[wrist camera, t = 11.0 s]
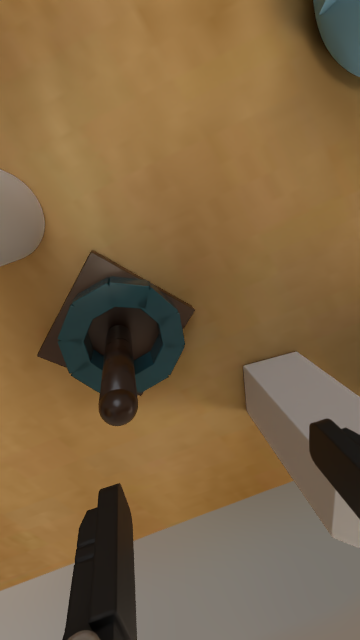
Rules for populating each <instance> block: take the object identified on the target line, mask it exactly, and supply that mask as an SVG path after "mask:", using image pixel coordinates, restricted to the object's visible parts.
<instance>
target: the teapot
mask: <svg viewBox="0 0 360 640" xmlns="http://www.w3.org/2000/svg"><path fill="white" fill-rule="evenodd" d="M313 4H314V10H315V17H316V21H317V25H318V29H319V32H320V35H321V38H322V40H323V42H324V44H325V46H326V48H327V49H328V51H329V52H330V54H331V55H332V57H333V58H334V59H335V60H336V61H337V62H338V63H339V64H340V65H341V66H342V67H343V68H345V69H346V70H347V71H349V72H350V73H352V74H354V75H356V76H358V77H360V0H313Z"/></svg>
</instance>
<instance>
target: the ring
mask: <svg viewBox="0 0 360 640" xmlns="http://www.w3.org/2000/svg"><path fill="white" fill-rule="evenodd" d="M114 307H124V308H137V309H141V310H142V311H144V312H145V313H146V314H147V315H149V316H150V317H151V318H152V319H153V320H155V321H156V323H157V327H158V332H159V334H158V336H157V338H156V340H155V342H154V344H153V347H152V349H151V351H149V352H148V353H146V354H144V355H142V356H141V357H139V358H137V359H136V360H134V370H135V380H136V389H137V394H138V392H139V394H140V393H142V392H143V391H145V390H147V389H149V388H150V387H152V386H154V385H156V384H157V383H159V382H161V381H162V380H164V379H166V378H168V377H169V376H168V375H170V374H171V372H172V370H173V369H174V367H175V365H176V363H177V361H178V359H179V357H180V355H181V353H182V351H183V349H184V345H185V341H184V335H183V330H182V324H181V318H180V313H179V312H178V310H177V308H176V307H175V305H174V304H173V302H172V301H171V300H169V299H168V298H167V297H166V296H165V295H164V294H163V293H162V292H160V291H159V290H158V289H157V288H156V287H155V286H154V285H153V284H151V283H150V282H149V281H146V280H144V279H134V278H124V277H115V276H111V277H110V278H109V277H107V278H105V279H103V280H101V281H100V282H98V283H96V284H94V285H92V286H91V287H89V288H87V289H85V290H84V291H82V292H80V293H78V294H77V296H75V298H74V300H73V301H72V303H71V305H70V307H69V309H68V312H67V314H66V317H65V320H64V322H63V325H62V327H61V330H60V333H59V335H58V338H57V339H58V341H57V342H58V345H59V348H60V350H61V353H62V355H63V358H64V361H65V363H66V366H67V369H68V371H69V373H70V374H71V373H72V374H71V376H73V377H74V378H76V379H77V380H79V381H81V382H82V383H84V384H86V385H87V386H89V387H90V388H92V389H94V390H95V391H97V392H99V393H100V389H101V380H102V371H103V363H104V356H103V355H102V354H100V353H99V352H97V351H96V350H94V349H93V346H92V343H91V339H90V336H89V333H88V330H89V327H90V325H91V323H92V320H93V319H95V318H96V317H98V316H100V315H102V314H103V313H105V312H107V311H109V310H110V309H112V308H114Z"/></svg>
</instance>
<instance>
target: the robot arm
mask: <svg viewBox="0 0 360 640" xmlns="http://www.w3.org/2000/svg"><path fill="white" fill-rule="evenodd" d="M309 452H310V455H311V458H312V460H313V462H314V463H315V465H316V466H317V467H318V469H319V470H320V471H321V472H322V474H323V475H324V476H325V477H326V479H327V480H328V481H329V482H330V483H331V485H332V486H333V487H334V488H335V490H336V491H337V492H338V493H339V495H340V496H341V497H342V498H343V499H344V501H345V502H346V503H347V504H348V506H349V507H350V508H351V509H352V511H353V512H354V513H355V514H356V516H357V517H358V518H359V519H360V435H359V434H358V433H356V432H354V431H352V430H350V429H348V428H346V427H345V428H342V429H341V428H340V427H339V426H338V425H336V424H335V423H334V422H333V421H332V420H331V419H328V418H326V419H323V420H320V421H317V422H313V423H311V424H310V425H309ZM63 640H137V628H136V601H135V575H134V550H133V525H132V517H131V512H130V508H129V505H128V503H127V500H126V497H125V495H124V492H123V489H122V487H121V484H120V483H119V484H115V485H112V486H109V487H106V488H103V489H100V491H99V496H98V507H97V508H94V509H91V510H88V511H87V512H86V514H85V517H84V519H83V521H82V523H81V525H80V527H79V533H78V541H77V549H76V555H75V565H74V571H73V577H72V584H71V591H70V599H69V606H68V613H67V621H66V628H65V633H64V636H63Z"/></svg>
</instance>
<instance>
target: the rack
mask: <svg viewBox="0 0 360 640" xmlns="http://www.w3.org/2000/svg"><path fill="white" fill-rule="evenodd" d="M111 276H115V277H124V278H134V279H143V278H141V277H140V276H138V275H136V274H134V273H133V272H131V271H129V270H127V269H125V268H124V267H122V266H120V265H118V264H117V263H115V262H113V261H111V260H109V259H108V258H106V257H104V256H102V255H101V254H99V253H97V252H95V251H93V250H92V251H91V252H90V254H89V256H88V258H87V260H86V262H85V264H84V266H83V268H82V270H81V271H80V273H79V275H78V277H77V279H76V281H75V283H74V285H73V287H72V289H71V291H70V293H69V295H68V297H67V298H66V300H65V302H64V304H63V306H62V308H61V310H60V312H59V314H58V316H57V318H56V320H55V322H54V324H53V326H52V327H51V329H50V331H49V333H48V335H47V337H46V339H45V341H44V343H43V345H42V347H41V349H40V351H39V353H38V354H37V356H38V357H41V358H43V359H46V360H48V361H51V362H54V363H56V364H59V365H61V366H64V367H67V366H66V363H65V361H64V358H63V355H62V353H61V350H60V348H59V345H58V342H57V341H58V339H57V338H58V335H59V333H60V330H61V327H62V325H63V322H64V320H65V317H66V314H67V312H68V309H69V307H70V305H71V303H72V301H73V300H74V298H75V296H77V294H78V293H80V292H82V291H84V290H85V289H87V288H89V287H91V286H92V285H94V284H96V283H98V282H100V281H101V280H103V279H105V278H107V277H109V278H110V277H111ZM144 280H145V279H144ZM146 281H147V280H146ZM151 284H152V283H151ZM153 285H154V284H153ZM154 286H155V287H156V288H157V289H158V290H159V291H160V292H162V293H163V294H164V295H165V296H166V297H167V298H168V299H169V300H171V301H172V302H173V304H174V305H175V307H176V308H177V310H178V312H179V313H180V318H181V324H182V330H183V328H184V327H185V325H186V324H187V322H188V321H189V319H190V317H191V316H192V314H193V313H194V311H195V309H194V308H193V307H192V306H191V305H189V304H188V303H186V302H184V301H182V300H181V299H179V298H177V297H175V296H173V295H172V294H170V293H168V292H166V291H165V290H163V289H161V288H159V287H157V286H156V285H154ZM88 333H89V336H90V339H91V343H92V346H93V349H94V350H96V351H97V352H99V353H100V354H102V355H103V356H104V363H103V371H102V380H101V389H100V398H99V413H100V416H101V418H102V419H103V420H104V421H105V422H106V423H107V424H109V425H113V426H122V425H125V424H127V423H128V422H130V421H131V420H132V419H133V418H134V416H135V414H136V412H137V409H138V399H137V395H140V396H141V395H142V394H143V392H144V391H143V392H142V393H140V394H139V392H138V394H137V389H136V380H135V370H134V360H136V359H137V358H139V357H141V356H142V355H144V354H146V353H148V352H149V351H151V349H152V347H153V344H154V342H155V340H156V338H157V336H158V334H159V332H158V327H157V323H156V321H155V320H153V319H152V318H151V317H150V316H149V315H147V314H146V313H145V312H144V311H142V310H141V309H137V308H124V307H114V308H112V309H110V310H109V311H107V312H105V313H103V314H102V315H100V316H98V317H96V318H95V319H93V320H92V323H91V325H90V327H89V330H88Z"/></svg>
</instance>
